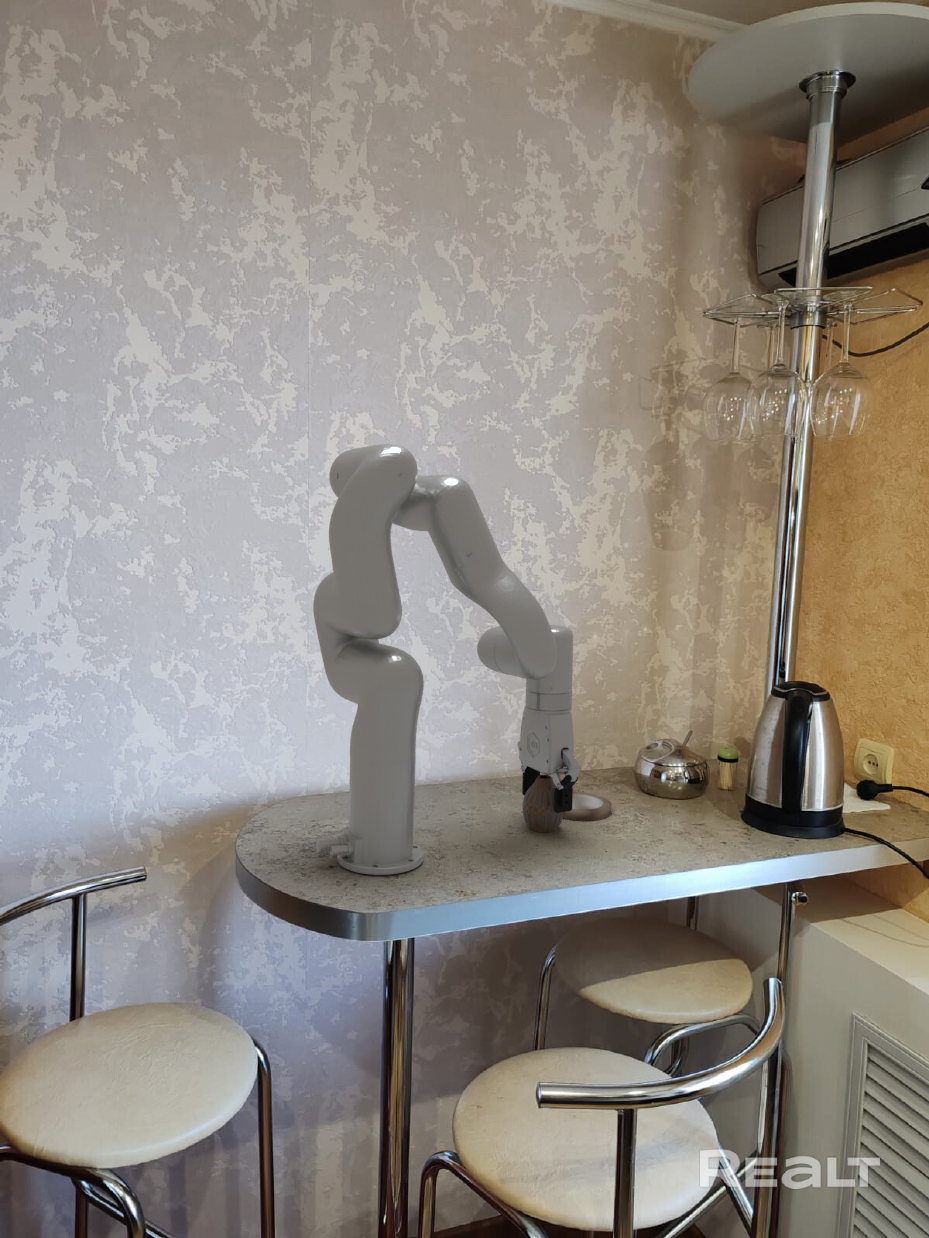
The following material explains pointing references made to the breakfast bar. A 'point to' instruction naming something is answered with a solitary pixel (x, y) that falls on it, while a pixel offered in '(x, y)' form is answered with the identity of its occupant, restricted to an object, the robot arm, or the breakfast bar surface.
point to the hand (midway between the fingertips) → (546, 802)
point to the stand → (588, 807)
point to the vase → (541, 805)
